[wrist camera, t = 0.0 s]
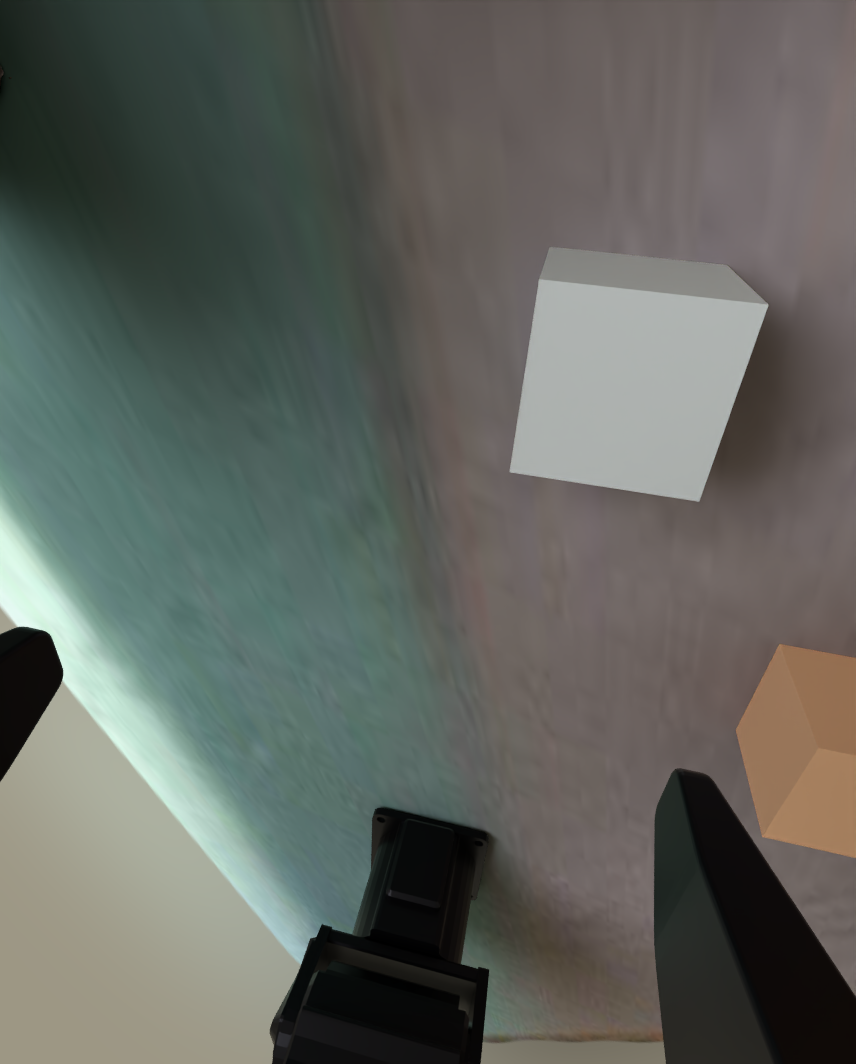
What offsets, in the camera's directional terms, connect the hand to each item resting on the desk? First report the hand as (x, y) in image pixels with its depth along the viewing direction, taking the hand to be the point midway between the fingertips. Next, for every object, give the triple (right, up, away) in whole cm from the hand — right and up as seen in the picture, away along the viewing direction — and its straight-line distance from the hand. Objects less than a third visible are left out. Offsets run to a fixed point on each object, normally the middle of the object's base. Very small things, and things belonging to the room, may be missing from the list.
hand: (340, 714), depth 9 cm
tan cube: (+17, -4, +16) cm, 24 cm away
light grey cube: (+7, +8, +11) cm, 15 cm away
